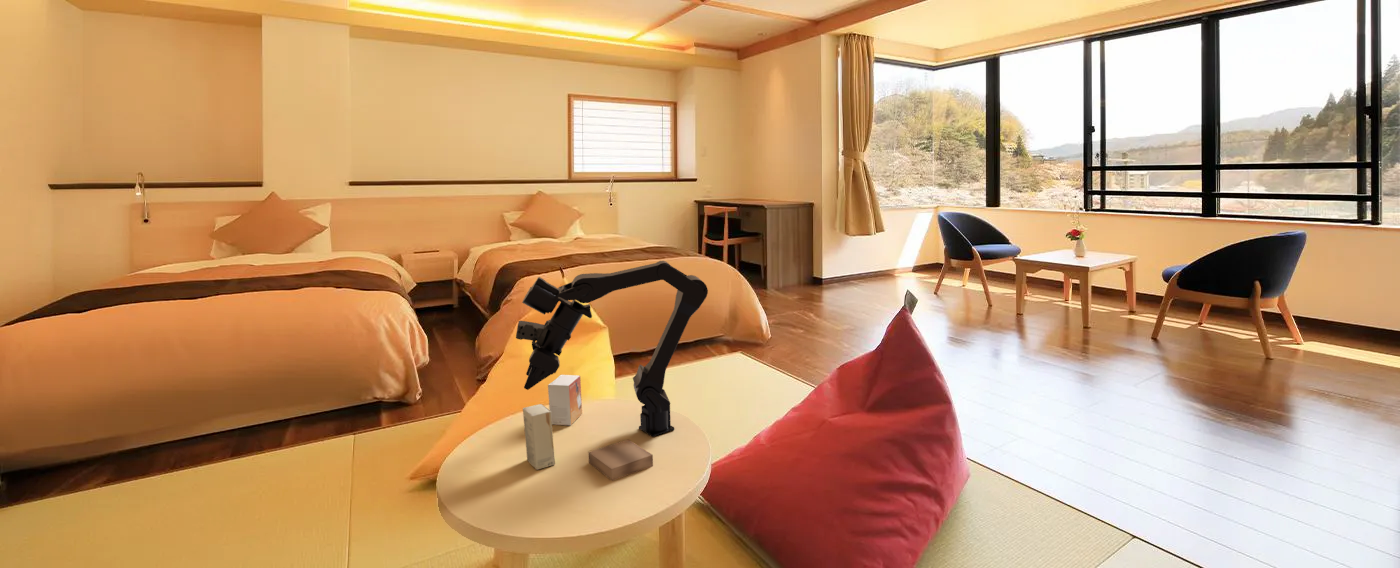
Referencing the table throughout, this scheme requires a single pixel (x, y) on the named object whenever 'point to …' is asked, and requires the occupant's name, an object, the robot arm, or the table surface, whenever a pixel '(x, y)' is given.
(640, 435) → the table surface
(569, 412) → the small box
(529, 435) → the skincare box
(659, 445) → the table surface
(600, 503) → the table surface
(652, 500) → the table surface
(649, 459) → the walnut block
